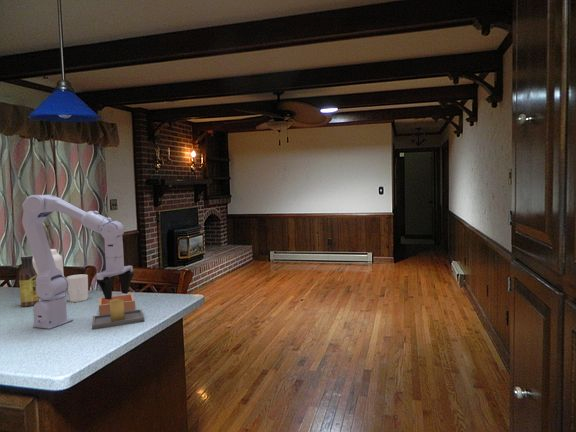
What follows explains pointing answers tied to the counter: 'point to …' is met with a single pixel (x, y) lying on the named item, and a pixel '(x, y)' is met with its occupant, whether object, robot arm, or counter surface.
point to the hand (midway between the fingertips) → (116, 296)
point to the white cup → (78, 287)
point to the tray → (105, 321)
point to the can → (57, 260)
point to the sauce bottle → (28, 282)
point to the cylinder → (117, 309)
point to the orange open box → (128, 298)
